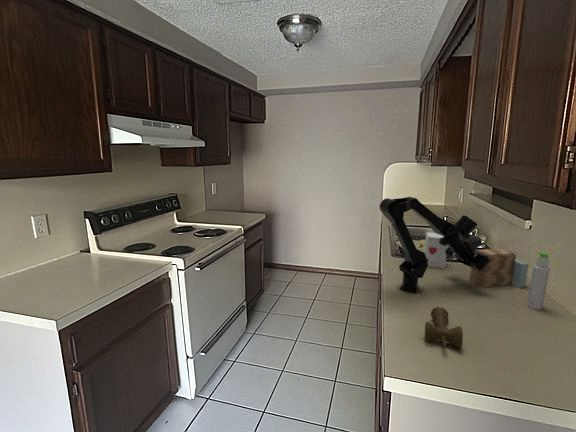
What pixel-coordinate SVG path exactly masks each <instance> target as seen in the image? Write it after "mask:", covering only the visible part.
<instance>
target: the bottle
mask: <svg viewBox="0 0 576 432" xmlns="http://www.w3.org/2000/svg"><path fill="white" fill-rule="evenodd" d="M536 254H537V255H538V256H537V260H536V264H535V265H533V269H532V274H531V281H530V284H529V285H530V286H529V292H528V298H527V303H526V306H527V307H528V308H529V309H530V308H531V309H533V310H539V311H541V310H543V306H544V302H545V295H546V289H547V285H548V281H549V275H550V267H549V263H550V258H549V253H546V252H537V253H536Z"/></svg>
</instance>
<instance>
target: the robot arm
mask: <svg viewBox="0 0 576 432" xmlns="http://www.w3.org/2000/svg"><path fill="white" fill-rule="evenodd" d="M378 206H379V210H380V212H381V213H382V214H383V215H384V217H385V218H386V219H387V220H388V221H389V222H390V224H391V226H392V228H393V230H394V233H395V235H396V237H397V239H398V241H400V243H401V245H402V247H403V252H404V254H403V255H404V256H403V259H404V261H402V263H401V264H400V265H398V267H399V271H400V272H402V282H401V285H400V288H399V290H401V291H404V292H409V293H415V294H417V293H418V292H419V289H420V286H419V279H423V277H424V275H425V273H426V271H427V268H429V267H428V262H427V261H428V260H427V258H426V255H425V253H424V252H422V251H420V250H418V249H416V246H415V244H414V242H413V241H414V240H413V238H412V236H411V233H410V231H409V228H408V227H407V224H406V223H405V220H404V217H405V216H404V215H405V213H406V212H409V211H410V210H411V211H412V212H413V213H415V214H416V215H417V216H419V218H421V219H422V220H424V221H425V222H426V223H427V224H428V225H429V228H430V230H432V231H433V233H437V234H439V235H442V236H443V237H442V238H440V241H439V244H441V245H444V246H446V245H448V247H447V249H446V250H445V254H446V257H449V258H451V259H452V258H453V254H454V257H455V258H456V261H457V262H459V263H461V264H463V265H465V266H467V267H469V268H473V269H475V270H478V271H480V270H482V269H483V268H484V267H485V266H486V265H487V264H488V263H489V262H490V258H489V257H488V256H486V255H484V254H481V253H480V254H476V253H474V252H475V250H477V248H479V247H482V246H483V242H482V239H481V237H480V236H477V235H472V234H471V233H472V232H473V231H474V230H475V229H476V228H477V227H478V223H477V222H475V221H474V220H473V219H471V218H470V217H468V216H467V215H464V214H463V215H462V216H461V217H460V218H459V219H458V220H457V221H456V222H455V223H452V222H450V221H448V220H446V219H444V218H442V217H440V216H438V215H437V214H436V213H434V212H433V211H432V210H431V209H429V207H427V206H425V205H424V204H423V203H422V202H421V201H419V199H418V198H416V197H412V196H407V197H406V196H405V197H400V198H392V199H391V198H389V197H388V198H387V197H386V198H383V199H382V200H381V201H380V204H379V205H378Z"/></svg>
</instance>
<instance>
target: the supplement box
mask: <svg viewBox="0 0 576 432" xmlns="http://www.w3.org/2000/svg"><path fill="white" fill-rule="evenodd" d="M442 237H443V236H442V235H439V234H437V233H435V232H428V231H427V232H426V233H425V238H424V240H425V248H424V253H425V255H426V258H427V260H428V261H427V262H428V267H427V268H436V269H446V262H447V255H446V254H445V250H446V249H447V248H448V247H449V246H448V245H446V246H444V245H441V244H439V241H440V238H442Z"/></svg>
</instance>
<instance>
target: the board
mask: <svg viewBox="0 0 576 432" xmlns="http://www.w3.org/2000/svg"><path fill="white" fill-rule="evenodd" d="M528 270H529V263H527V262H525V261H521V260H519V259H517V258H515V264H514V270H513V276H512V282H511V284H510V285H512V286H514V287H516V288H521V289H522V288H525V287H526V281H527V277H528Z"/></svg>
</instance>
